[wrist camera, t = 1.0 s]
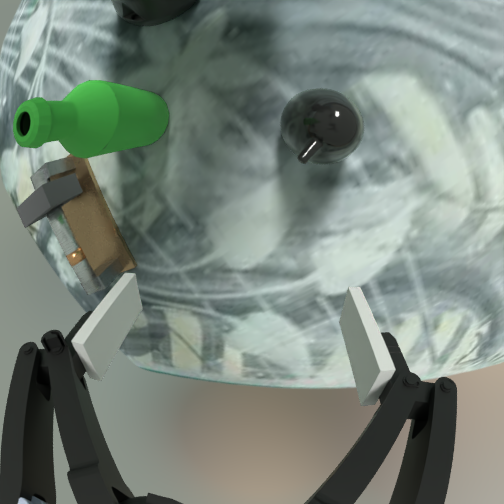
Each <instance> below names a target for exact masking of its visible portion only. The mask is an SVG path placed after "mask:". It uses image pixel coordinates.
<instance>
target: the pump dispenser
mask: <svg viewBox="0 0 504 504" xmlns="http://www.w3.org/2000/svg"><path fill="white" fill-rule="evenodd" d="M280 127H281V133H282V137H283V139H284V141H285V143H286V145H287V146H288V148H289V149H290V150H291V151H292V152H293V153H294V154H295V155H296V156H297V158H298V160H299V162H301V163H303V164H306V163H307V162H309V163H313V164H319V165H326V164H333V163H337V162H339V161H342V160H344V159H346V158H347V157H349V156H350V155H351V154H352V153H353V152H354V151H355V150H356V149H357V148H358V146H359V145H360V143H361V141H362V138H363V135H364V121H363V117H362V115H361V112H360V110H359V109H358V107H357V106H356V105H355V103H354V102H353V101H352V100H351V99H349V98H348V97H347V96H345V95H344V94H342V93H340V92H337V91H334V90H330V89H323V88H318V89H310V90H306V91H303V92H301V93H299V94H297V95H296V96H294V97H293V98H292V99H291V100H290V101H289V102H288V103H287V105H286V106H285V108H284V110H283V113H282V116H281V122H280Z"/></svg>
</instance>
